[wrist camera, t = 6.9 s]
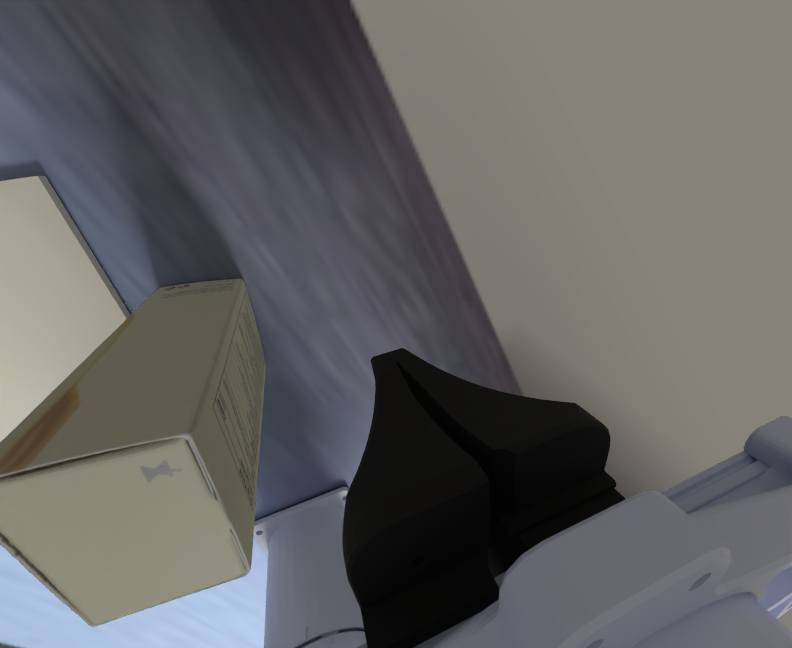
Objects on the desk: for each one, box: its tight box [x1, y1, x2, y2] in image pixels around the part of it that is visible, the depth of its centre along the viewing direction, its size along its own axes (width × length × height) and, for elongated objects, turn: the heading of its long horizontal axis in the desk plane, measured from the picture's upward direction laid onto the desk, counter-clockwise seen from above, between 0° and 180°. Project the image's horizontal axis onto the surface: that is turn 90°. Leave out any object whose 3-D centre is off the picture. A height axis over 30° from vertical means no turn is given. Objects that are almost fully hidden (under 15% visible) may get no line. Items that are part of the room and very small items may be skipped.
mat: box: [0, 176, 130, 442], centre depth 16 cm, size 18×13×1 cm
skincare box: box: [0, 279, 266, 627], centre depth 13 cm, size 6×4×12 cm
